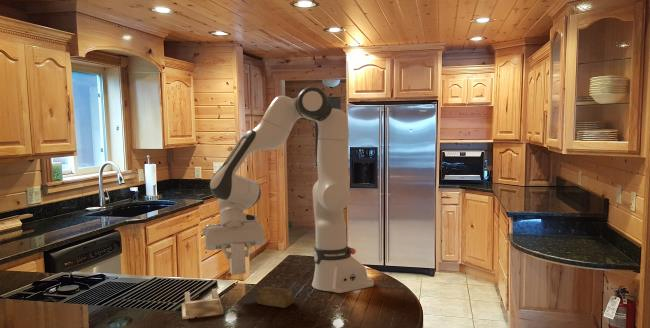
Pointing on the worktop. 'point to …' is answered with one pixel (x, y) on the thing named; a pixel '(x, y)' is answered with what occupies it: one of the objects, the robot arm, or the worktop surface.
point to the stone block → (275, 297)
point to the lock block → (237, 258)
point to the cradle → (201, 306)
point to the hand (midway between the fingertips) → (237, 257)
